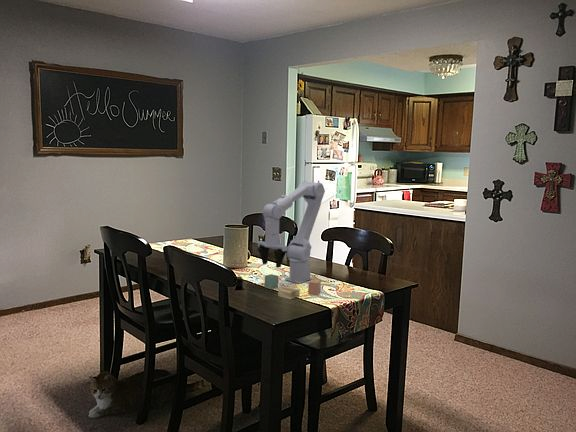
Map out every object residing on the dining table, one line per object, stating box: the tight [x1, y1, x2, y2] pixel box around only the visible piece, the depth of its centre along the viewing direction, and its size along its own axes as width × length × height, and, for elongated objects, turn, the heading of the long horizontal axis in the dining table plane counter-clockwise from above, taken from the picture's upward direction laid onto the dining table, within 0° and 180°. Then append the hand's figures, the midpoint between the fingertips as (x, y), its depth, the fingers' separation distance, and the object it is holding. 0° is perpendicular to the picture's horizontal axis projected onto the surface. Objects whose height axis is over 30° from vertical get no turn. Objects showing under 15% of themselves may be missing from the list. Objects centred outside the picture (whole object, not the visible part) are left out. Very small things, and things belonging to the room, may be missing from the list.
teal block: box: [264, 273, 279, 290], centre depth 213 cm, size 4×4×5 cm
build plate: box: [231, 276, 247, 291], centre depth 212 cm, size 12×7×5 cm, turn 13°
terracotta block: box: [307, 279, 322, 296], centre depth 206 cm, size 4×4×5 cm
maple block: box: [277, 285, 301, 300], centre depth 202 cm, size 6×6×3 cm
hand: (271, 265), depth 212 cm, fingers open, 7 cm apart
